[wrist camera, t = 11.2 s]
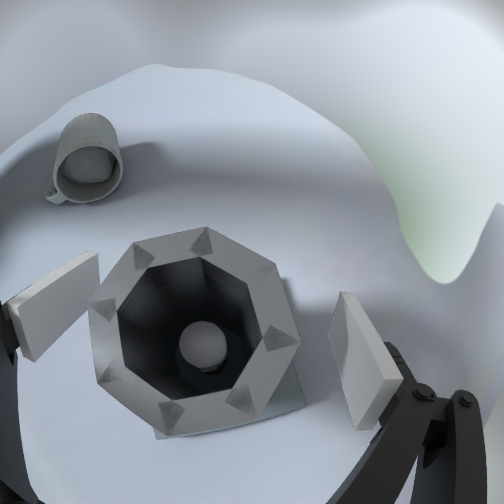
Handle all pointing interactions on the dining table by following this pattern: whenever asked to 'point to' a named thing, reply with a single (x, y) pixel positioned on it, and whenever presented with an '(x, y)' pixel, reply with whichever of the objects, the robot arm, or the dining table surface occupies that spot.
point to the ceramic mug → (85, 161)
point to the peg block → (227, 369)
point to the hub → (181, 316)
